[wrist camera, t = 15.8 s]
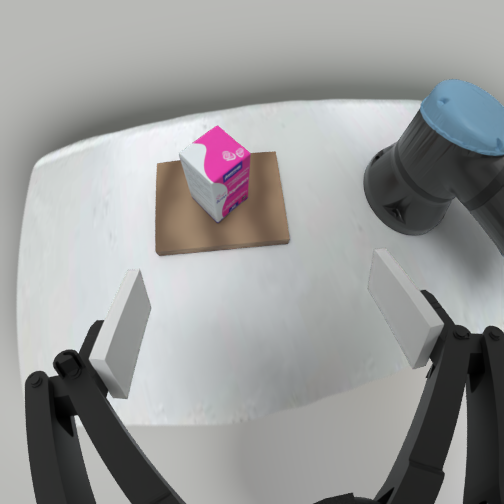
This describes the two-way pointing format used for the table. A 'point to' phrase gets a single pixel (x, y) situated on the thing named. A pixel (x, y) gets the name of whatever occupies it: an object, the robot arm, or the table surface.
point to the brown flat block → (230, 227)
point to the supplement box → (217, 172)
